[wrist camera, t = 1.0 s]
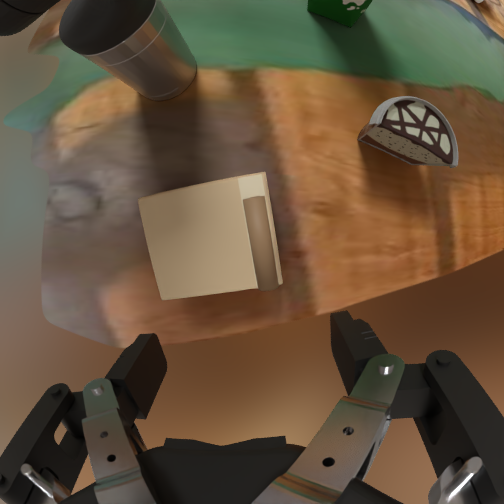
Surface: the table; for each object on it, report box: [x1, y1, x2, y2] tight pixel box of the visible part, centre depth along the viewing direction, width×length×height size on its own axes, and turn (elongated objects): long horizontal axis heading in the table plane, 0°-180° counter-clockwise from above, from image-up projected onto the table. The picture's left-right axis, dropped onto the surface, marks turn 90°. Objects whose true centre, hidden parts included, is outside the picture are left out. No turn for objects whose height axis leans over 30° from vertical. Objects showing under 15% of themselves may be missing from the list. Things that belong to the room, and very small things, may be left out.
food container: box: [357, 96, 458, 168], centre depth 28 cm, size 12×6×10 cm, turn 74°
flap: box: [138, 174, 281, 300], centre depth 25 cm, size 12×14×7 cm
